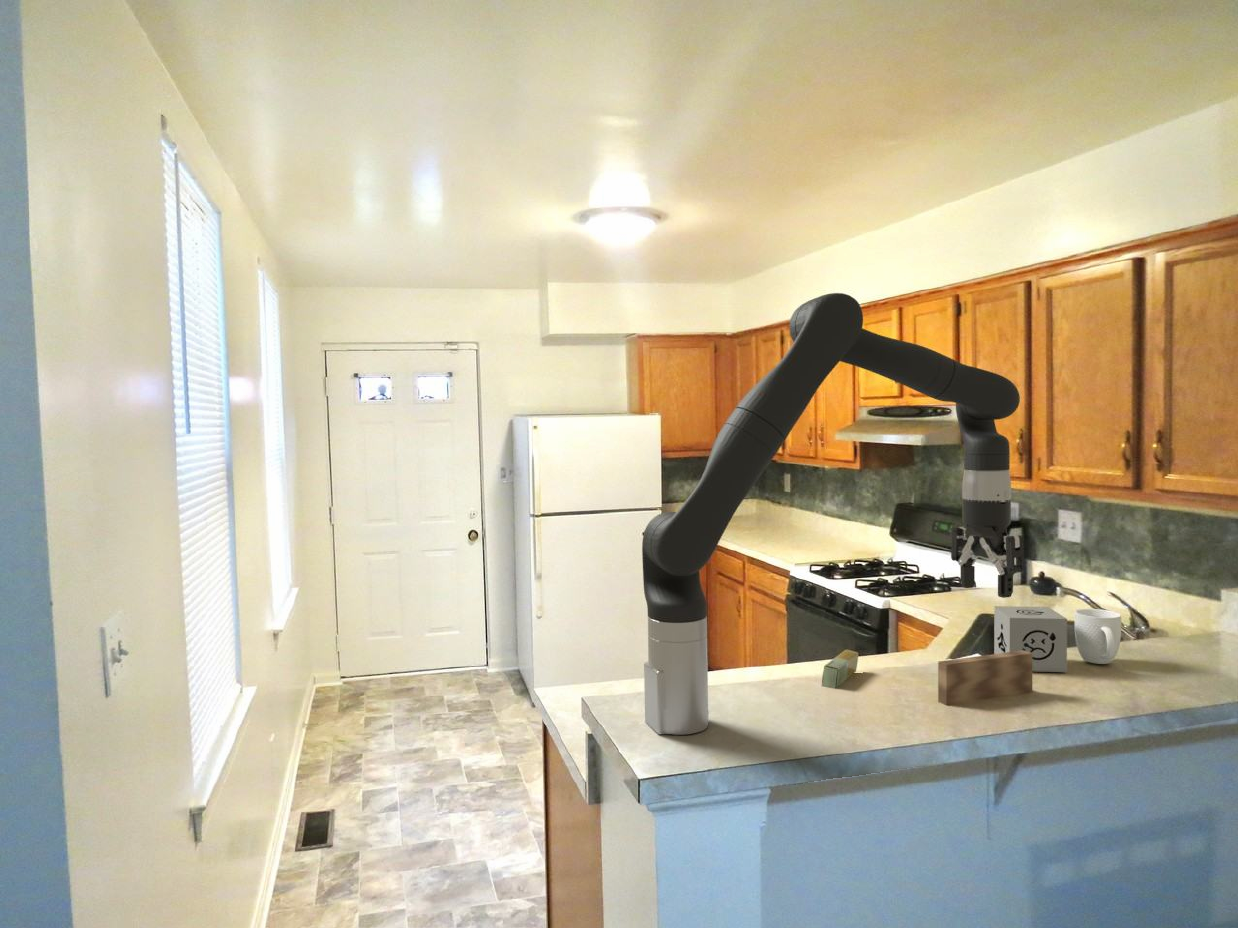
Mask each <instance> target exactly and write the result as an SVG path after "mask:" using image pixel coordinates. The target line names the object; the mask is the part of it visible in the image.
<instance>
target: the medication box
mask: <svg viewBox="0 0 1238 928" xmlns="http://www.w3.org/2000/svg"><path fill="white" fill-rule="evenodd" d="M858 660H859V652H857V651H854V650H850V649H844V650H843V651H842V652H840V653H839V654H838V655H837V656H835V657H834V658H833V659H831V660H830V661H829V662H827V663H826V664H825V665H824V666H823V672H822V677H821V678H822V679H821V687H823V688H824V687H825V688H827V689H829V688H830V689H837V688H838V687H839V686H840V685H841V684H843V683H844V682H845V681H846V680H848V679H849V678H850V677H852V676H853V674H855V673H856V672H857V668H858V663H859V662H858Z"/></svg>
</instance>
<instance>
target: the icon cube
mask: <svg viewBox="0 0 1238 928" xmlns="http://www.w3.org/2000/svg"><path fill="white" fill-rule="evenodd" d="M993 609H994V611H993V612H994V614H993V616H994V618H993V619H994V620H993V622H994V625H993V626H994V629H993V631H994V632H993V633H994V634H993V635H994V636H993V637H994V639H993V640H994V645H993V646H994V647H993V649H994V650H993V651H994V652H993V653H994V654H1000V653H1007V652H1015V651H1023V650H1024V651H1027V652H1030V653H1033V663H1032V672H1039V673H1040V672H1042V673H1048V672H1049V673H1067V669H1068V667H1067V666H1068V663H1067V662H1068V656H1067V655H1068V618H1066V617H1064V616H1063V615H1061V613H1059V612H1057V611H1055V610H1054V609H1052V608H1050V607H1049V606H1010V605H1009V606H1002V605H1001V606H999V605H998V606H996V605H995V606H994V608H993Z"/></svg>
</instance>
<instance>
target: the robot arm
mask: <svg viewBox="0 0 1238 928" xmlns="http://www.w3.org/2000/svg"><path fill="white" fill-rule="evenodd" d="M863 325H864V314H863V310H862V306H861V305H860V303H859V302H858V300H857V299H856V298H854V297H852V296H851V295H849V294H846V293H841V292H831V293H827V294H823V295H820V296H818V297H814V298H812V299H810V300H808V301H806V302H804V303H802V304H800V305H799V306H798V307H797V308H796V309H795V310H794V312H793V313H792V315H791V317H790V320H789V325H788V326H789V327H788V328H789V334H790V337H791V341H793V343H792V344H791V346H790V348H789V349H788V350H787V352H786V354H785V355H784V356H783V357H782V358H781V360H780V361H779V362H778V363H777V364H776V365H775V366H774V367H773V368H772V369H771V370H770V371H769V372H768V373H767V374H765V376H763V377H762V378H761V379H760V380H759V381H758V382H757V383H756V384H755V385H754V386H753V387H752V388H751V389H750V390H749V391H748V392H747V393H746V394H745V395H744V396H743V398H742V399H740V401H739V402H738V403H737V405H736V406H735V408H734V410H733V411H732V412H731V413H730V416H728V418H727V420H725V423H724V424H723V426H722V427H721V429H720V431H719V432H718V434H717V435H716V436H717V437H716V438H715V440H714V442H713V446H712V448H711V450H710V454H709V456H708V460H707V462H706V465H705V468H704V471H703V473H702V475H701V478H700V480H699V482H698V483H697V485H696V486H695V488H694V490H693V491H692V492H691V493H690V495H689V496H688V497H687V498H686V500H685V501H684V502H683V504H681V506H680V508H679V509H677V511H667V512H661V513H659V514H657V515H656V516H654V517H653V518H652V519H651V520H650V521H649V522H648V524H647V525H646V527H645V529H644V532H643V535H642V542H641V543H642V544H641V545H642V546H641V547H642V548H641V554H642V555H641V557H642V574H643V575H642V576H643V578H642V579H643V580H642V581H643V591H644V598H645V601H646V607H647V643H648V644H647V649H648V650H647V651H648V652H647V654H648V661H647V662H644V663H643V671H644V674H643V676H644V683H643V684H644V686H643V687H644V722H645V723H646V724H647V725H648V726H649V727H650V728H651V729H653V731H654V732H655V733H656V734H657V735H665V734H666V735H677V736H678V735H680V736H684V735H692V734H696V733H700V732H702V731H704V730H706V729H707V728H708V727H709V675H708V674H709V673H708V672H709V670H708V666H709V665H708V606H707V605H708V604H707V603H708V602H707V599H706V596H705V593H704V591H703V588H702V585H701V580H700V571H701V569H702V568H704V567H705V566H706V564H707V563H708V562H709V560H710V559H711V557H712V555H713V554H714V552H715V550H716V548H717V546H718V544H719V542H720V541H721V539H722V536H723V534H724V533H725V531H726V530H727V527H728V525H729V523H730V522H731V520H732V518H733V516H734V514H735V513H736V512H737V510H738V508H739V507H740V505H741V503H742V502H743V501H744V499H745V498H746V497H747V495H748V494H749V493H750V491H752V489H753V487H754V486H755V485H756V483H757V481H759V478H760V477H761V475H763V472H764V471H765V470H766V468H767V467H768V466H769V464H771V462H772V460H774V457H775V456H776V454H777V453H778V452H779V450H780V449H781V447H782V446H783V444H784V443H785V441H786V439H788V436H789V435H790V434H791V431H793V428H794V427H795V425H796V424H797V422H798V421H799V419H800V418H801V416H802V415H803V413H804V412H805V410H806V409H807V407H808V406H809V404H810V402H811V401H812V399H813V397H814V396H815V394H816V392H817V390H818V389H819V388H820V386H821V385H822V384H823V382H824V381H825V379H826V378H827V377H828V376H829V375H830V373H831V372H832V371H833V370H834V368H835V367H836V366H837V365H838V364H839V363H840V362H842V363H844V364H848V365H850V366H851V365H852V366H853V367H854V366H855V367H857V368H861V369H863V370H866V371H870V372H872V373H874V374H877V375H879V376H882V377H884V378H887V379H889V380H891V381H893V382H896V383H898V384H899V385H903V386H905V387H906V388H909V389H912V390H914V391H915V392H918V393H921V394H923V395H925V396H927V397H929V398H931V399H934V400H937V401H939V402H945V403H946V402H947V403H948V402H949V403H955V411H956V418H957V423H958V427H959V430H960V431H959V432H960V434H961V438H962V443H963V445H964V448H963V455H964V456H963V477H962V489H961V490H962V491H961V493H962V497H961V499H962V500H961V501H962V502H961V506H962V508H961V509H962V513H961V517H962V518H961V521H962V523H963V524H964V525H966V526H954V527H952V530H951V533H952V534H951V549H950V551H951V552H950V555H951V556H950V559H951V561H954V562H956V563H958V566H960V575H959V576H960V583H961V587H962V588H965V589H973V588H974V587H975V572H976V570H975V568H976V567H975V565H974V564H975V563H976V561H977V560H978V558H980V557H983V558H986V559H989V562H990V563H992V564H993V565H994V566H995V567H996V570H997V572H998V575H997V596H998V597H999V598H1003V599H1004V598H1010V597H1012V595H1013V592H1014V575H1015V574H1017V573H1023V572H1025V553H1024V552H1025V551H1024V537H1023V536H1022V535H1021V534H1019V535H1017V534H1015V535H1009V534H1008V530H1007V529H1008V527H1009V526H1010V524H1011V522H1012V482H1011V481H1012V480H1011V475H1010V474H1011V471H1010V461H1011V458H1010V457H1011V455H1010V453H1011V451H1010V442H1009V439H1008V438H1007V437H1006V436H1004V435H1002V434H1000V433H998V431H997V427H996V423H995V422H996V421H997V420H1003V419H1006V418H1008V417H1009V416H1011V415H1013V414H1014V413H1015V412H1016V410H1018V408H1019V406H1020V402H1021V401H1020V399H1021V396H1020V392H1019V390H1018V387H1017V386H1016V385H1015V383H1013V382H1012V381H1011V380H1010V379H1009V378H1007V377H1006V376H1003V375H1001V374H998V373H996V372H993V371H990V370H989V371H988V370H985V369H983V368H977V367H976V366H975V367H974V366H971V365H967V364H963V363H961V362H958V361H957V360H955V359H953V358H951V357H949V356H946V355H944V354H942V353H940V352H937V351H936V350H933V349H930V348H929V347H925V346H923V345H921V344H920V345H919V344H916V343H913V342H909V341H906V340H905V341H903V340H899V339H897V338H896V339H895V338H891V337H889V336H884V335H881V334H878V333H875V332H872V331H870V330H868V329H866V328H863ZM995 420H996V421H995ZM959 549H960V552H959ZM1015 562H1016V563H1015Z"/></svg>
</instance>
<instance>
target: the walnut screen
mask: <svg viewBox="0 0 1238 928" xmlns="http://www.w3.org/2000/svg"><path fill="white" fill-rule="evenodd" d="M1032 663H1033V653H1030V652H1027V651H1024V650H1023V651H1015V652H1007V653H1000V654H986V655H978V656H971V657H964V658H955V659H947V660H941V661H940V660H939V661H937V665H938V666H937V669H938V670H937V672H938V673H937V675H938V676H937V678H938V679H937V680H938V681H937V683H938V684H937V689H938V691H937V693H938V694H937V701H938V703H941V705H942V704H943V705H944V706H951V705H952V706H953V705H959V704H965V703H972V702H979V701H985V700H990V699H997V698H999V699H1000V698H1005V697H1010V696H1017V695H1024V694H1031V693H1033V671H1032Z"/></svg>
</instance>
